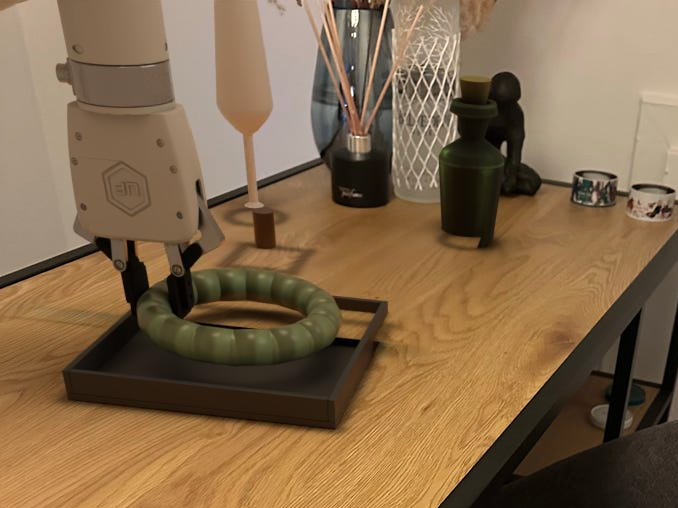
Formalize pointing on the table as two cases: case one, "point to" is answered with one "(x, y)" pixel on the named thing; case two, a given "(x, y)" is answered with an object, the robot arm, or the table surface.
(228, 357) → the ring
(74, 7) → the robot arm
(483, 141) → the potion bottle
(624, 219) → the table surface
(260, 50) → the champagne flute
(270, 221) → the post
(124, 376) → the tray
